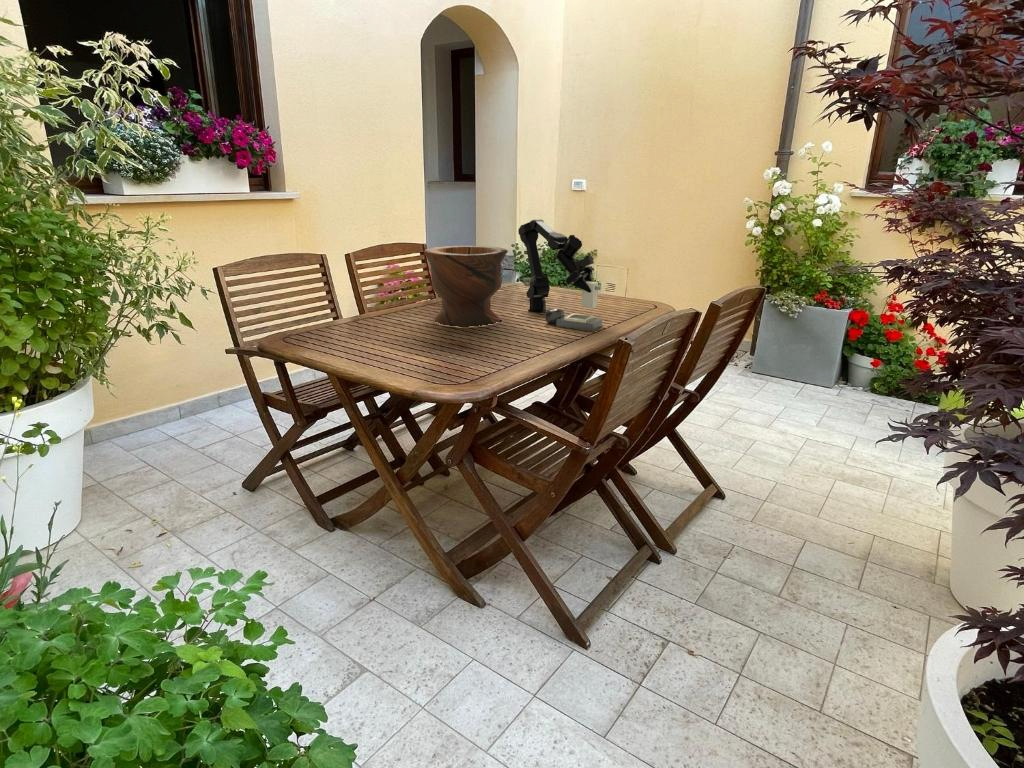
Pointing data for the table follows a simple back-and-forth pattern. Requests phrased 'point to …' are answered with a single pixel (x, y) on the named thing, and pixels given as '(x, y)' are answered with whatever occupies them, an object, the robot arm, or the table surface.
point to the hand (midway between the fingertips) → (592, 290)
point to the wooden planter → (466, 283)
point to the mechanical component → (526, 282)
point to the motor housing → (572, 320)
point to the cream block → (590, 295)
